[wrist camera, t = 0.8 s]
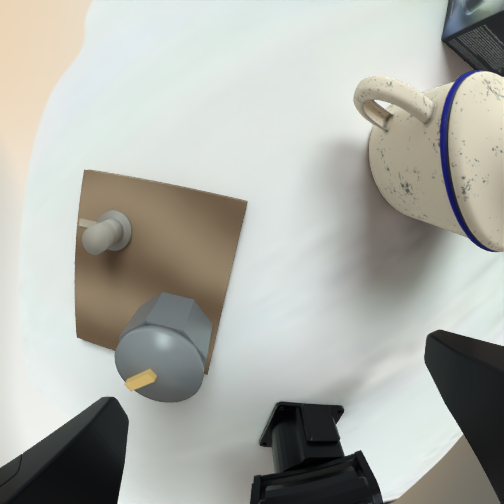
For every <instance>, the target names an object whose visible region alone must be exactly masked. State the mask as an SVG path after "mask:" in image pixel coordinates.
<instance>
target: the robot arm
mask: <svg viewBox="0 0 504 504" xmlns="http://www.w3.org/2000/svg"><path fill="white" fill-rule="evenodd" d="M424 360H425V364H426V366H427V368H428V370H429V372H430V374H431V376H432V378H433V380H434V382H435V384H436V386H437V388H438V390H439V392H440V394H441V396H442V398H443V400H444V402H445V404H446V406H447V407H448V409H449V411H450V412H451V414H452V415H453V417H454V419H455V420H456V422H457V424H458V425H459V427H460V429H461V430H462V432H463V434H464V435H465V437H466V439H467V440H468V442H469V444H470V446H471V447H472V449H473V451H474V453H475V454H476V456H477V458H478V460H479V462H480V464H481V465H482V467H483V469H484V471H485V473H486V475H487V477H488V479H489V481H490V483H491V485H492V486H493V489H494V491H495V493H496V495H497V497H498V499H499V501H500V504H504V346H501V345H497V344H493V343H489V342H485V341H481V340H478V339H474V338H470V337H466V336H462V335H459V334H455V333H451V332H448V331H444V330H437V331H434V332H432V333H429V334H428V335H427V338H426V346H425V355H424ZM343 413H344V408H343V406H340V405H318V404H303V403H292V402H279V403H277V404H276V406H275V408H274V410H273V413H272V415H271V417H270V419H269V421H268V424H267V426H266V428H265V430H264V432H263V434H262V436H261V439H260V441H259V442H260V446H263V447H272V450H273V459H274V468H275V474H269V475H263V476H261V475H256V476H254V483H252V489H251V499H250V504H383V500H382V495H381V492H380V488H379V486H378V483H377V481H376V478H375V476H374V475H373V473H372V471H371V469H370V467H369V465H368V463H367V461H366V459H365V457H364V455H363V453H362V451H361V450H360V451H357V452H355V453H354V454H351V455H348V456H345V455H344V452H343V449H342V446H341V443H340V436H339V433H338V430H337V427H336V424H337V422H338V421H339V419H340V417H341V416H342V414H343ZM128 425H129V420H128V417H127V415H126V413H125V411H124V410H123V408H122V407H121V405H120V403H119V402H118V400H117V399H116V398H115V397H102V398H100V399H99V400H98V401H96V402H95V403H93V404H92V405H91V406H89V407H88V408H87V409H85V410H84V411H82V412H81V413H80V414H78V415H77V416H75V417H74V418H73V419H71V420H70V421H68V422H67V423H66V424H64V425H63V426H62V427H60V428H59V429H57V430H56V431H54V432H53V433H52V434H50V435H49V436H47V437H46V438H44V439H43V440H41V441H40V442H39V443H37V444H36V445H34V446H33V447H32V448H30V449H29V450H27V451H25V452H24V453H23V454H21V455H19V456H18V457H16V458H15V459H13V460H12V461H10V462H9V463H7V464H6V465H4V466H2V467H1V468H0V504H117V502H118V496H119V491H120V485H121V480H122V475H123V469H124V464H125V454H126V444H127V434H128Z"/></svg>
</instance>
